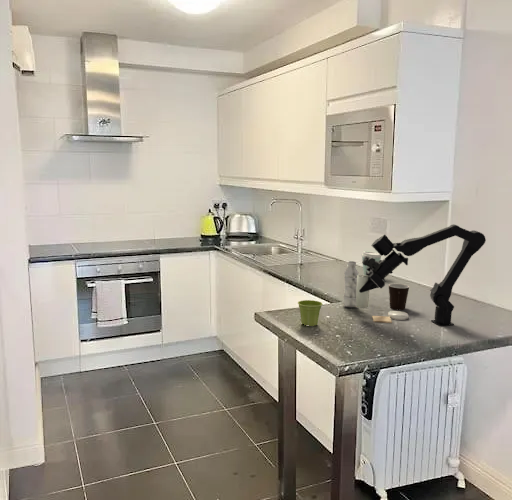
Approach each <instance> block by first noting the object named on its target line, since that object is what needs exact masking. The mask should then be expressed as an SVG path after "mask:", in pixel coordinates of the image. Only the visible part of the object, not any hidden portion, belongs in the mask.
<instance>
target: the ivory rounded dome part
mask: <svg viewBox="0 0 512 500" xmlns="http://www.w3.org/2000/svg"><path fill="white" fill-rule="evenodd" d="M387 317H390V318H391V320H396V321H406V320H408V319H409V314H408V313H407V312H406V311H402V310H390V311H388V312H387Z"/></svg>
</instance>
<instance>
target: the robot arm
mask: <svg viewBox="0 0 512 500" xmlns="http://www.w3.org/2000/svg"><path fill="white" fill-rule="evenodd" d="M453 237H458V238H460V239H462V240H463V242H462V246H461V250H460V252H459V253H458V255H457V256H456V258H455V260H454V261H453V263H452V265H451V266H450V268H449V270H448V271H447V273H446V274H445V276H444V278H443V280H442V281H440V282H439V283H438V282H434V285H433V286H432V288H431V289H430V290H429V291H430V294H429V297H430V299H431V301H432V302H433V303H434V305H435V310H434V319H431V321H430V322H431V323H433V324H435V325H437V326H440V327H442V326H445V327H446V326H455V323H454V322H452V314H453V313H452V312H453V311H454V309H455V306H454V304H452V302H451V301H450V298H451V296H452V292H453V287H454V286H455V284H456V283H457V280H458V279H459V277H460V276H461V274H462V273H463V272H464V269H465V268H466V266H467V264H468V263H469V261H470V260H471V258H472V256H474V254H476V253H477V252H478V251H480V250H481V248H482V247H483V246H484V245H485V244H486V240H487V239H486V236H485V234H484V233H482V232H480V231H477V230H467V229H466V228H462V227H460V226H459V225H457V224H451V225H449V226H447V227H444V228H442V229H439V230H436V231H434V232H431V233H428V234H426V235H424V236H419V237H411V238H409V239H408V238H407V239H404V240H402V241H401V242H395V243H393V242H392V240H390V239H389V237H388V236H387V235H386V234H385V233H384V234H383V235H382V236H380V237H379V238H377V239H375V240H374V241H373V243H371V247H372V248H373V249H374V250H375V252H376V253H379V254H380V255H381V257H382V256H384V258H383V259H380V261H376V260H375V259H373V258H372V257H371V258H370V257H368V256H365V257H364V259H363V261H362V260H361V261H362V262H361V264H362V266H363V265H365V266H368V267H367V268H366V269H367V271H368V272H367V271H366V275H368V280H367V282H366V283H365V284H364V285H363V286H362V288H361V289H360V290H359V292H360V293H362V292H365V291H368V290H369V291H370V290H375V289H383V288H384V287H385V286H386V285H385V284H386V282H385V281H386V279H385V278H386V277H387V276H389V275H392V274H393V273H394V272H393V271H395V270H396V269H397V268H398V267H399V266H400V265H401V264H403V263H404V265H406V266H408V265H409V263H408V262H409V258H408V257H412V256H414V255H416V254H418V253H419V252H421V251H422V250H424V249H425V248H427V247H428V246H431V245H434V244H437V243H440V242H442V241H444V240H447V239H450V238H453ZM396 251H397V252H398V253H397V252H396ZM405 256H406V257H405ZM369 276H370V277H369Z"/></svg>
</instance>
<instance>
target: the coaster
mask: <svg viewBox="0 0 512 500" xmlns="http://www.w3.org/2000/svg"><path fill="white" fill-rule="evenodd" d="M371 318H372V321H373V323H387V324H392V323H393V320H392V319H391V318H390V317H388V315H385V316H384V315H383V316H381V315H371Z"/></svg>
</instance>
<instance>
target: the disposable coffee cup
mask: <svg viewBox="0 0 512 500" xmlns="http://www.w3.org/2000/svg"><path fill="white" fill-rule="evenodd" d="M365 256H368V257H370V258H371V257H372V258H373V259H375V260H376V261H380V260H382V256H381V255H380V254H379V253H378V252H377V251H368V250H366V251H365V250H364V251H362V254H361V261H363V259H364V257H365ZM367 267H368V266H365V265H363V264H362V271H363V275H366V271H367V269H366V268H367ZM367 272H368V271H367Z"/></svg>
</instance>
